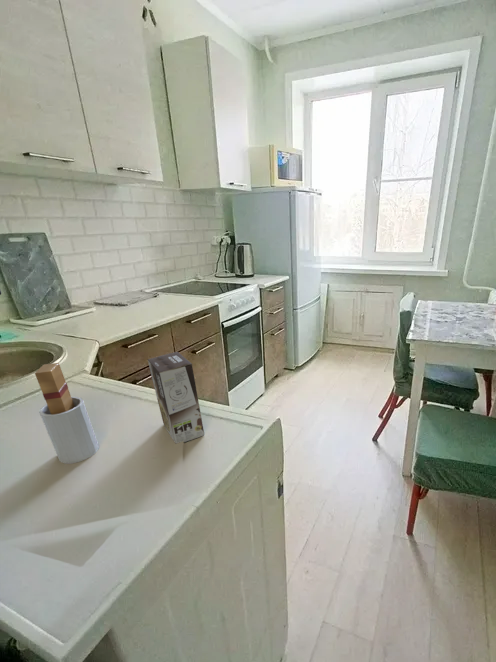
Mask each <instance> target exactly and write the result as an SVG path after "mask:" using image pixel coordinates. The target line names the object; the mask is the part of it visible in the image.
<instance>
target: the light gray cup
mask: <svg viewBox="0 0 496 662" xmlns="http://www.w3.org/2000/svg"><path fill="white" fill-rule="evenodd" d="M71 398H72V401H73V403H74V406H75V408H73V409H71V410H69V411H66V412H63V413H59V414H53V415H51V413H50V410H49V408H48V405H47V403H46V404H44V405H43V406H41V408H40V409H39V411H38V413H39V415H40V418H41V420H42V423H43V425H44V428H45V430H46V432H47V434H48V437H49V440H50V442H51V445H52V447H53V449H54V452H55V454H56V456H57V459H58V461H59V462H60V463H63V464H67V465H68V464H76V463H80V462H82V461H85V460H87V459H89V458H91V457H93V456H94V455H95V454H96V453H97V452H98V451H99V448H100V445H99V442H98V438H97V436H96V433H95V429H94V427H93V423H92V422H91V419H90V415H89V413H88V410H87V407H86V405H85V400H84V399H83V398H82V397H78V396H71Z"/></svg>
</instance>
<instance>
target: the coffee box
mask: <svg viewBox="0 0 496 662" xmlns="http://www.w3.org/2000/svg"><path fill="white" fill-rule="evenodd" d="M147 363H148V367H149V371H150V375H151V380H152V383H153V387H154V391H155V395H156V400H157V404H158V407H159V411H160V412H159V413H160V416H161V420H162V423H163V427H164V429H166V431H167V433H168V434H169V436H170V438H171V439H172V441H173V442H174V444H179V443H181V442H183V443H187V442H189V441H192V440H195V439H197V438H200V437H204V436H205V429H204V424H203V418H202V413H201V408H200V401H199V396H198V390H197V385H196V380H195V379H196V378H195V374H194V373H195V372H194V367H193V363H191V362H190V361H189V360H188V359H187V358H186V357H185V356H184V355H182V354H181V353H180V352H179V351H174V352H170V353H166V354H162V355H159V356H155V357H151V358H148V359H147Z"/></svg>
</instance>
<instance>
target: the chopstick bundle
mask: <svg viewBox="0 0 496 662" xmlns="http://www.w3.org/2000/svg"><path fill="white" fill-rule="evenodd" d="M63 373H64V372H63V370H62V367H61V365H60V363H59V362H54V363H53V362H51V363H45V364H42V365H41V366H40V367H39V368H38V370H36V372H34V375H35V377H36V380H37V383H38V385H39V387H40V388H39V389H40V390H41V393H42V396H43V399H44V400H45V402H46V404H47V405H48V408H49V410H50V413H51V415H53V414H59V413H63V412H66V411H69V410H71V409H73V408H75V406H74V403H73V401H72V398H71V397H72V395H71V392H70V390H69V386H68V383H67V381H66V379H65V376H64V374H63Z"/></svg>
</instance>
